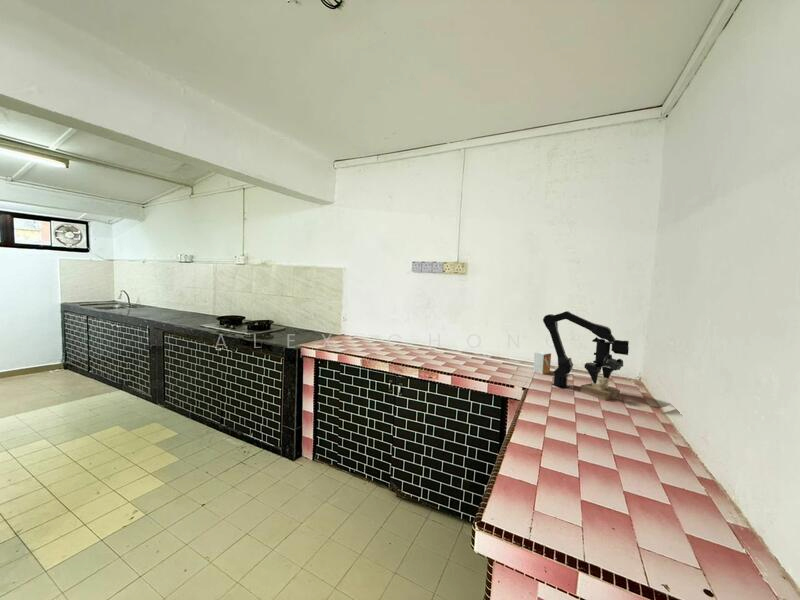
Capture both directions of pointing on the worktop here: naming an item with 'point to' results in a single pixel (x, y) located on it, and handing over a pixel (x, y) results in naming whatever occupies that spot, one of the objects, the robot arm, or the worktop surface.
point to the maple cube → (601, 383)
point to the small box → (542, 362)
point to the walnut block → (600, 392)
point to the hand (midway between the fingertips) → (600, 382)
